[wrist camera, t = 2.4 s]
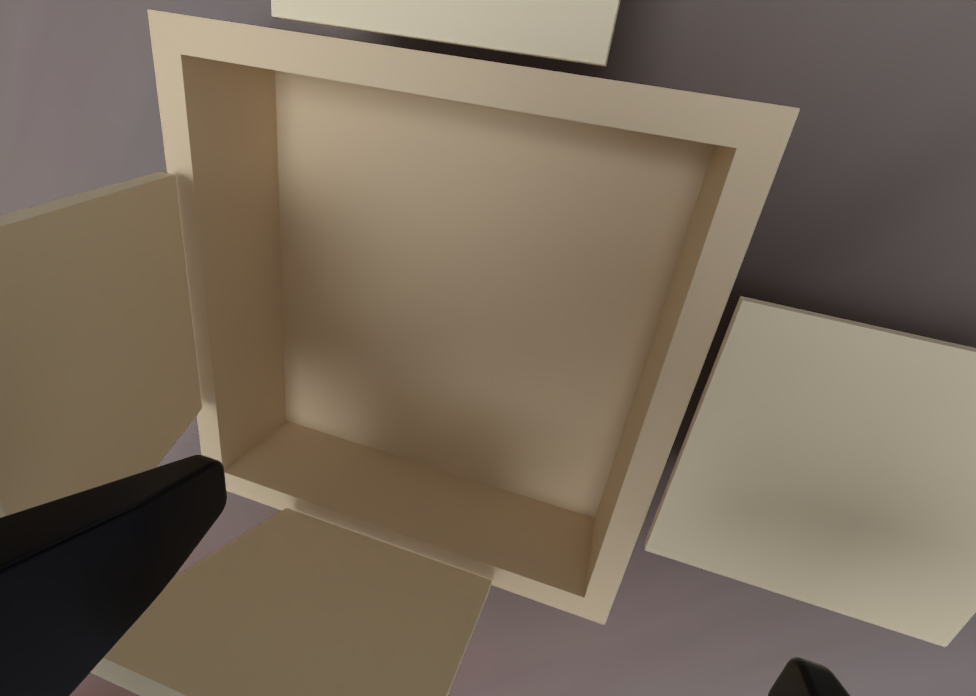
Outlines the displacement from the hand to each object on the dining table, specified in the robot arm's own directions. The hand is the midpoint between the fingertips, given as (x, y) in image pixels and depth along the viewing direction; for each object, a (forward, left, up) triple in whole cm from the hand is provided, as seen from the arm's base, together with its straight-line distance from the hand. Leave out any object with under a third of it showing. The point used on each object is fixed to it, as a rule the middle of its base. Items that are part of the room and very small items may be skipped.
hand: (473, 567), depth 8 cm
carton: (0, -4, -10) cm, 10 cm away
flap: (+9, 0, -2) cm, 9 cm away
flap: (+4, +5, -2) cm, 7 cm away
